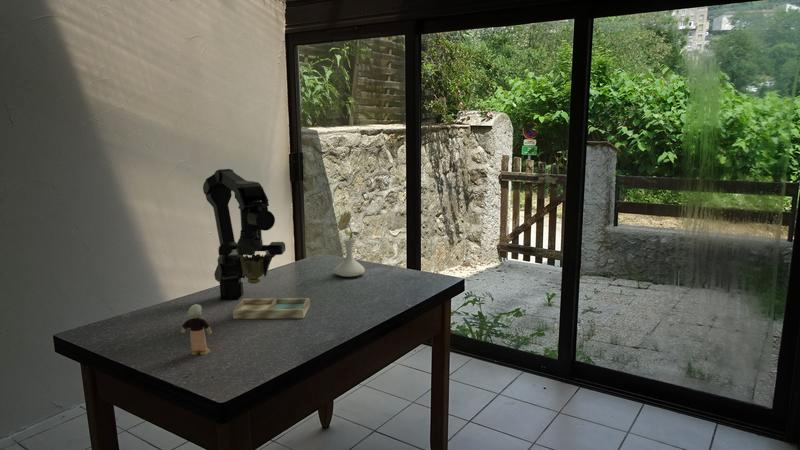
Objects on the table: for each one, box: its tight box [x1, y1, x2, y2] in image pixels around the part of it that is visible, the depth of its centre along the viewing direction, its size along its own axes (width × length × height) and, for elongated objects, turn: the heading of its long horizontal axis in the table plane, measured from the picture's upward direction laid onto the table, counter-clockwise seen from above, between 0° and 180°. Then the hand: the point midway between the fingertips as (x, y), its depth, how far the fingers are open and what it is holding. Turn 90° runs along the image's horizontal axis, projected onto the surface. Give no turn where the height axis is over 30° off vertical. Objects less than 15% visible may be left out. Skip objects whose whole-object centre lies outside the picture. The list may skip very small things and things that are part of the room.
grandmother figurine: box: [180, 303, 213, 356], centre depth 141 cm, size 8×4×13 cm, turn 98°
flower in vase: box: [334, 210, 366, 278], centre depth 208 cm, size 13×11×25 cm
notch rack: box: [232, 297, 311, 320], centre depth 171 cm, size 21×11×2 cm, turn 90°
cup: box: [240, 253, 264, 285], centre depth 169 cm, size 8×7×8 cm
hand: (253, 276), depth 169 cm, fingers closed on cup, 6 cm apart
